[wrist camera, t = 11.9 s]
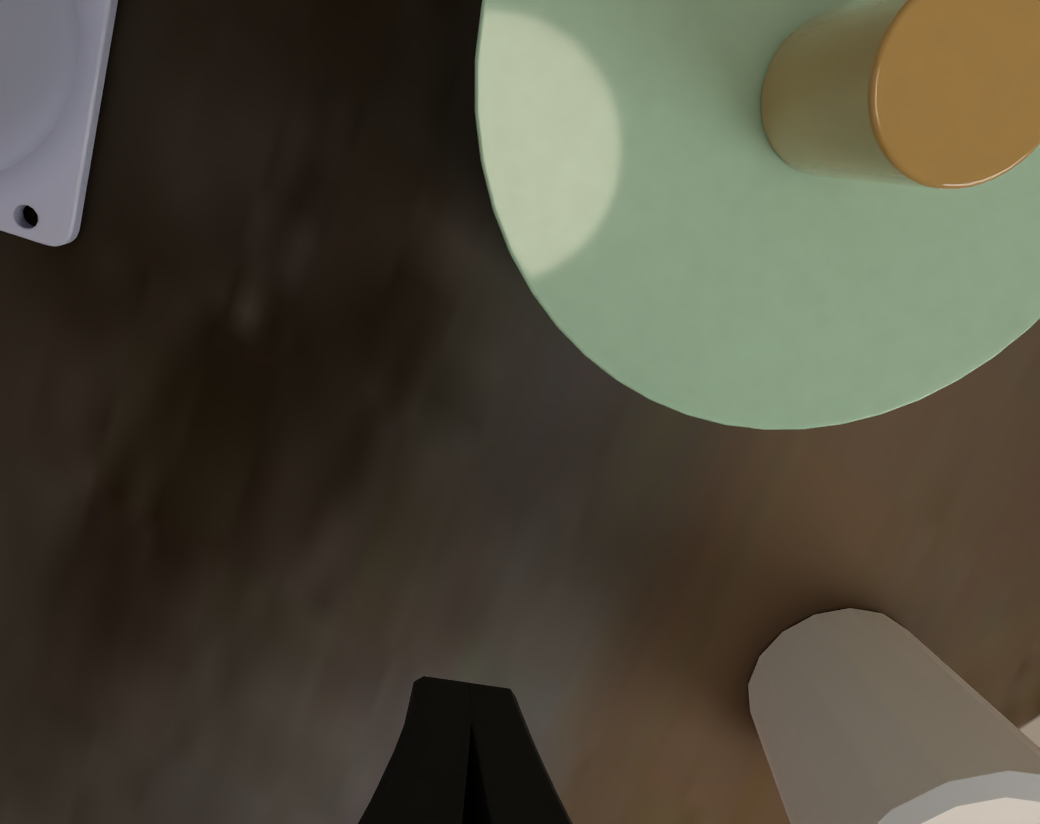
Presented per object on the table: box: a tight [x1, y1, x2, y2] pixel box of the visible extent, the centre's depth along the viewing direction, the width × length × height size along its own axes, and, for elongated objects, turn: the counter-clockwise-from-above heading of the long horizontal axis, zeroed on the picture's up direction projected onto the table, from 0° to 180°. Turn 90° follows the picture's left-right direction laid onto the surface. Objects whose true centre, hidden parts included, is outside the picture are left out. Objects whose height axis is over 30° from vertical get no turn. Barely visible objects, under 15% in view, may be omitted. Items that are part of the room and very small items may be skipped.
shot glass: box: [748, 608, 1040, 824], centre depth 20 cm, size 7×7×7 cm
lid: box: [474, 0, 1040, 429], centre depth 10 cm, size 11×11×4 cm
